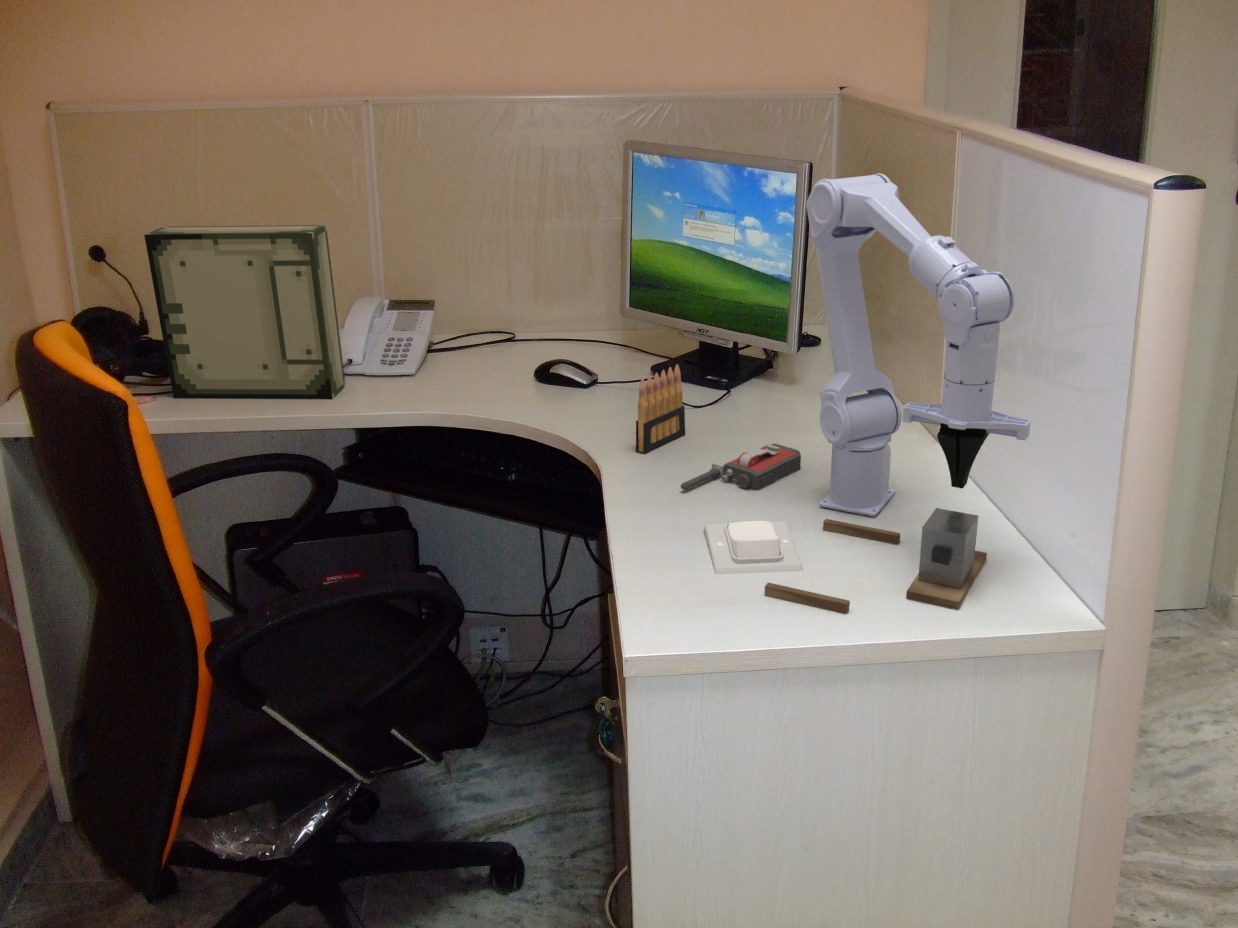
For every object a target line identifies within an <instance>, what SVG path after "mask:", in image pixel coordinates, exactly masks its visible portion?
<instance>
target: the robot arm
mask: <svg viewBox="0 0 1238 928" xmlns="http://www.w3.org/2000/svg"><path fill="white" fill-rule="evenodd" d="M899 193H900V192H899V188H898V186H897V185H896V184H895V183H893V182H892V181H891V179H890V178H889V177H888V176H887V175H885V174H884V173H881V172H880V173H879V172H878V173H872V174H870V175H862V176H851V177H844V178H843V177H841V178H832V179H830V178H822V179H820V180H818V181H817V182H815V184H814V186H813V188H812V189H811V191H810V193H809V196H808V198H807V200H806V202H805V204H806V205H805V206H806V211H807V216H808V217H807V218H808V224H809V231H810V236H811V242H812V246H813V247H815V252H816V259H817V265H818V272H819V277H820V285H821V292H822V296H823V304H824V310H825V311H824V312H825V318H826V323H827V328H828V335H829V342H830V348H831V357H832V362H833V369H834V376H833V377H832V379H831V380H829V382H828V383H827V384H826V385H825V386H824V387H823V388H822V390H821V391H820V392H819V394H820V395H819V396H820V404H821V405H820V413H819V425H820V429H821V432H822V434H823V435H824V437H825V439H826V440H827V442H828V443H830V444H831V445H832V446H831V464H830V481H829V482H830V484H829V485H830V486H829V492H828V493H827V494H826V495H825V496H824V497H823V499H822V500H820V502H819V507H822V508H827V509H830V510H832V509H833V510H836V511H841V512H842V511H843V512H848V513H853V514H858V515H864V516H867V517H868V516H869V517H876V516H877V515H879V513H880V511H881V510H882V509H883V508H884V507H885V506H886V504H887V503H888V502H889V500H890V499H891V498H892V497H893V496H894V494H895V493H896V489H894V488H890V486H889V485H890V474H891V473H890V469H891V455H892V452H891V446H890V443H891V442H892V435H894V434H895V433H897V431H899V429H900V426H901V424H902V422H904V423H909V424H911V423H912V422H915V423H921V424H922V423H923V424H928V425H929V424H930V425H935V426H939V431H938V433H937V434H936V435H937V436H936V438H937V442H938V443H939V445H940V447H941V450H942V452H943V454H944V457H945V459H946V463H947V466H948V470H949V475H950V484H951V486H950V487H952V488H956V489H964V487H966V485H967V484H968V481H969V476H970V472H971V470H972V467H973V464H974V462H975V459H976V457H977V456H978V454H979V452H980V450H981V448H982V446H983V445H984V443H985V441H986V439H987V438H988V437H989V435H990V434H993V435H1000V436H1006V437H1012V438H1016V440H1020V441H1023V442H1024V441H1025V442H1026V440H1027V439H1028V438H1029V436H1030V431H1031V423H1032V422H1031V420H1030V419H1025V418H1021V417H1020V418H1019V417H1016V416H1013V415H1009V414H1005V413H1001V412H997V411H994V410H992V409H993V408H992V407H993V400H994V399H993V398H994V389H995V378H996V369H997V363H998V362H997V360H998V359H997V358H998V350H999V342H1000V330H1001V322H1004V321H1006V320H1007V319H1008V318H1009V317H1010V316H1011V314H1012V312H1013V309H1014V305H1015V294H1014V290H1013V286H1012V285H1011V283H1010V281H1009V280H1008V278H1006V276H1005V275H1004V274H1003V273H1002V272H999V271H987V270H986V269H981V268H980V266H979V265H978V264H977V263H976V262H974V261H972V260H971V259H970V258H969V257H968V256H967V255H966V254H965V253H964V252H962V250H960V249H959V247H957V246H956V245H955V244H956V241H955V240H954V239H953V238H952V237H951V236H944V235H933V236H931V234H929V232H928V231H927V230H926V229H925V227H923V226H922V224H921V223H920V222H919V221H918V219H916V218H915V216H914V215H913V214H912V213H911V212H910V211H909V210H908V208H907V207H906V206H905V205H904V204H903V202H901V200H900V194H899ZM877 232H878V233H879V234H881V235H882V237H884V238H885V239H886V240H888V241H889V242H890V243H891V244H892V245H893V246H895V247H896V248H897V249H898V250H900V251H901V252H902V253H903V254H905V256H906V257H908V258H909V259H908V269H909V270H908V271H909V272H910V273H911V275H913V277H914V278H915V279H916V280H917V281H918V282H919V283H920V284H921V285H922V286H923V287H924V288H926V289H925V290H927V291H928V292H929V293H930V294H931V295H932V296H933V297H934V298H935V299H936V300H937V302H938V305H937V306H938V311H939V315H940V317H941V318H940V319H941V320H942V323H943V330H942V336H944V340H945V341H946V347H945V358H944V359H945V361H944V370H943V373H944V374H943V384H942V385H943V386H942V395H941V396H942V397H941V403H940V404H939V403H920V402H919V403H917V402H911V401H909V402H907V403H906V404H905V405H904V406H903V407H902V406H901V404H900V402H899V400H898V398H897V396H896V394H895V391H894V387H893V386H894V385H893V381H892V380H891V378H889V377H888V376H886V375H884V374H883V373H882V372H880V371H879V370H878V369H877V368H876V367H875V366H876V364H875V359H874V353H873V351H874V350H873V344H872V339H871V332H870V326H869V324H870V323H869V319H868V313H867V312H868V311H867V306H866V298H865V292H864V286H863V280H862V273H861V267H860V260H859V252H860V251H859V250H860V249H861V247H862V246H863V244H864V242H865V241H867V240H869V239H871V237H872V236H873V235H874V234H875V233H877ZM861 392H867V393H862V394H858V395H853V394H857V393H861ZM850 395H853V396H850ZM901 407H902V408H901Z"/></svg>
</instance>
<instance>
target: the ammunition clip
mask: <svg viewBox="0 0 1238 928" xmlns="http://www.w3.org/2000/svg"><path fill="white" fill-rule="evenodd" d="M681 375H682V374H681V369H680V366H679V364H678V363H677V364H676V365H675V367H674V371H673V369H672V367H671V366H669V368H668V369H667V374H666V370H665V369H662V371H661V373H660V375H659V374H658V372H655V374H654V377H653V378H652V376H651V375H648V376H647V379H646V381H645V379H644V377H642V378H641V380H640V383H639V387H638V388H639V389H638V404H637V420H635V452H636V453H639V454H644V455H647V454H649V453H651V452H653V451H656V450H657V449H659V448H661V447H663V446H666V445H667V444H669V443H673V442H675V440H678V439H680V438H682V437H684V436H686V416H685V415H686V413H685V412H686V410H685V405H684V404H683V387H682V378H681V377H682V376H681Z"/></svg>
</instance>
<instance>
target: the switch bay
mask: <svg viewBox="0 0 1238 928" xmlns="http://www.w3.org/2000/svg"><path fill="white" fill-rule="evenodd" d="M822 522H823V523H822V524H823V525H822V531H826V532H831V533H837V534H842V535H845V536H853V537H856V538H861V539H862V538H863V539H867V540H872V541H877V542H883V543H888V544H893V545H899V543H900V541H901V532H896V531H892V530H886V529H881V528H876V527H871V526H866V525H861V524H856V523H851V522H845V521H839V520H835V519H834V520H833V519H828V518H825V519H824V520H823V521H822ZM764 596H767V597H772V598H775V599H780V600H784V601H789V602H793V603H799V604H803V605H808V606H811V607H816V608H819V609H825V610H829V611H834V612H836V613H843V614H848V612H849V611H850V607H851V606H850V601H851V600H850V599H849V600H848V599H844V598H839V597H835V596H832V595H825V594H821V593H818V592H813V591H808V590H804V589H799V588H795V587H791V586H786V585H782V584H776V583H772V582H767V583H766V584H765V585H764Z"/></svg>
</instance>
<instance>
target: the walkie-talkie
mask: <svg viewBox="0 0 1238 928" xmlns="http://www.w3.org/2000/svg"><path fill="white" fill-rule="evenodd" d="M801 455H802V454H801V451H799V450H798V449H795V448H792V447H789V446H786V445H781V444H778V443H771V444H766V445H765V446H763V447H760V448H758V447H755V448H753V449H750V450H748V452H747V451H746V452H743V453H742V454H740V455H730V456H728V457H726V458H724V459H721V460H719V461H715V462H713V463H712V464H711V469H709V471H707V472H705V473H702V474H700V475H697V476H695V477H693V478H691V479H688V480H686V481H684V482H682V483H681V485H680V488H681V489H682V490H684V491H685V490H688V489H690V488H692V487H694V486H697V485H699V484H701V483H703V482H705V481H708V480H711V479H712V478H713V479H714V478H716V477H717V478H719V479H721V481H722V482H723V483H726V482H727V483H731V484H734V485H737V486H739V487H740V488H741V489H750V490H753V491H760V490H762V489H764V488H766V487H768V486H769V485H772V484H774V483H775V482H776V483H777V481H779V480H782V479H784V478H786V477H788V476H790V475H792V474H795V472H798V471H799V470H801V466H802V465H801V462H802V461H801V460H802V459H801V458H802V456H801Z"/></svg>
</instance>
